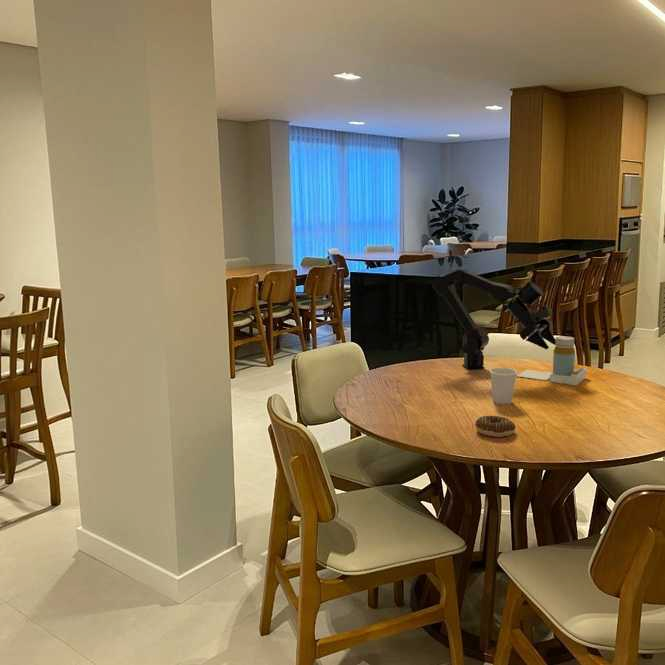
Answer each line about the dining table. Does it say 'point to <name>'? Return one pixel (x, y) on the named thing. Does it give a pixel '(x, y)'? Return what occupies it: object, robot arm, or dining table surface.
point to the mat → (535, 375)
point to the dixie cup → (503, 384)
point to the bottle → (564, 356)
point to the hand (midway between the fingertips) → (551, 346)
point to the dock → (570, 377)
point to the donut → (494, 426)
